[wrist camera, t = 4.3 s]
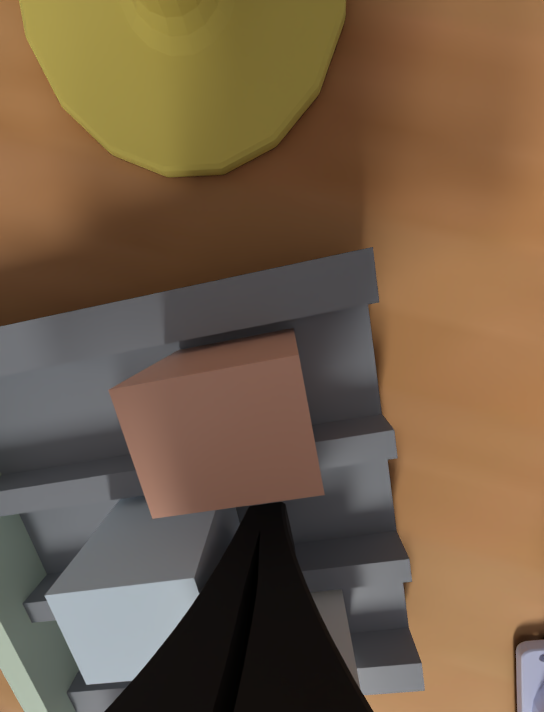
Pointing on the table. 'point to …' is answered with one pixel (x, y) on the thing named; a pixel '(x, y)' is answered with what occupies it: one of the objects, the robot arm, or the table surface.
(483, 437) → the table surface
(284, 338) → the clay pink cube
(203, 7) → the candle
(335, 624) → the pale grey square block
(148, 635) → the pale blue tilted box
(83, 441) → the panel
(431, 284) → the table surface
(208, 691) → the robot arm
